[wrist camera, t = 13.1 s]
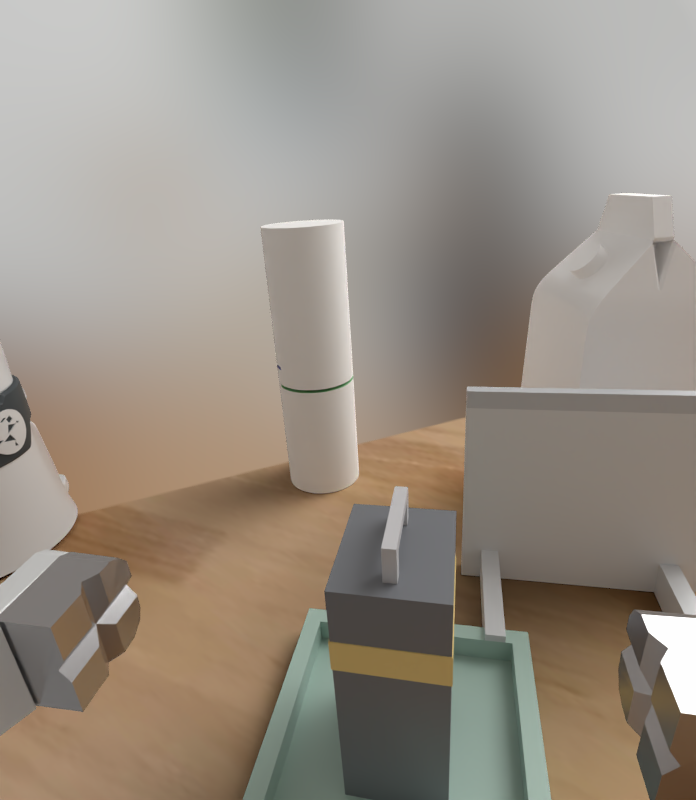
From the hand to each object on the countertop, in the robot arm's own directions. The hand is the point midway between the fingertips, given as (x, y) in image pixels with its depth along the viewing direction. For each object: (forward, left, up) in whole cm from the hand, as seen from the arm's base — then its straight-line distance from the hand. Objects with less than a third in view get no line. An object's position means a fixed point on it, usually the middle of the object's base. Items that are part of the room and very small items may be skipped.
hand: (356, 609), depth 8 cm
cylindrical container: (-12, +39, -22) cm, 46 cm away
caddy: (-1, +12, -22) cm, 25 cm away
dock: (+10, +22, -22) cm, 33 cm away
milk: (+14, +38, -22) cm, 46 cm away
